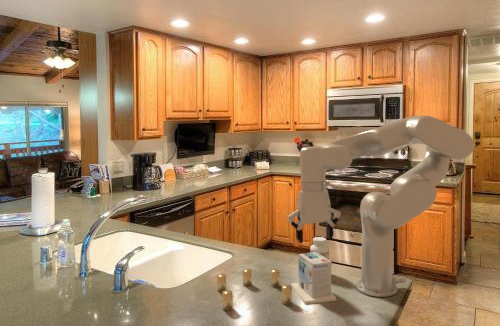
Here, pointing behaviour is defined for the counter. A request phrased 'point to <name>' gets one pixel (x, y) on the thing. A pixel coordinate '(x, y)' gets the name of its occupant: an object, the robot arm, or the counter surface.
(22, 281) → the counter surface
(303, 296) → the plate
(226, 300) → the brass cylinders
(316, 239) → the supplement bottle
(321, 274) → the light bulb box
